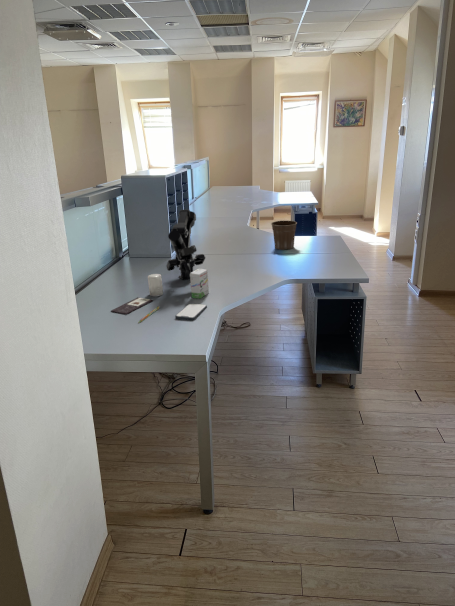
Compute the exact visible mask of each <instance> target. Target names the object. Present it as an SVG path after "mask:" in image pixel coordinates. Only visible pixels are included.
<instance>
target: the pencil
mask: <svg viewBox="0 0 455 606" xmlns="http://www.w3.org/2000/svg"><path fill="white" fill-rule="evenodd" d="M160 309H161V306H157V307H155V308H154V309H153V310H152V311H150V312H148V313H147V314H146V315H145V316H143V317H142V318H140V319H139V321H138V322H137V324H140V323H143V322H144V321H145V320H146V319H147V318H149V317H151V315H152V314H154V313H156V312H157V311H158V310H160Z"/></svg>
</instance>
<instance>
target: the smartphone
mask: <svg viewBox="0 0 455 606" xmlns="http://www.w3.org/2000/svg"><path fill="white" fill-rule="evenodd" d="M207 308H208V306H207V304H199V303H189V304H187V305H186V306H185V307H183V309H181V310H180V311H179V312H178V313H176V314H175V316H174V318H175V319H176V320H181V321H182V320H183V321H195V320H197V318H198V317H199V316H200V315H201V314H202V313H203V312H205V310H206V309H207Z"/></svg>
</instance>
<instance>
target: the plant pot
mask: <svg viewBox="0 0 455 606" xmlns="http://www.w3.org/2000/svg"><path fill="white" fill-rule="evenodd" d="M297 224H298V222H297V221H296V220H295V221H294V220H277V221H273V222H271V223H270V225H271V227H272V232H273V241H274V243H273V244H274V249H276V250H281V251H284V250H292V249H294V246H295V238H296V236H295V235H296V229H297Z"/></svg>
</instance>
